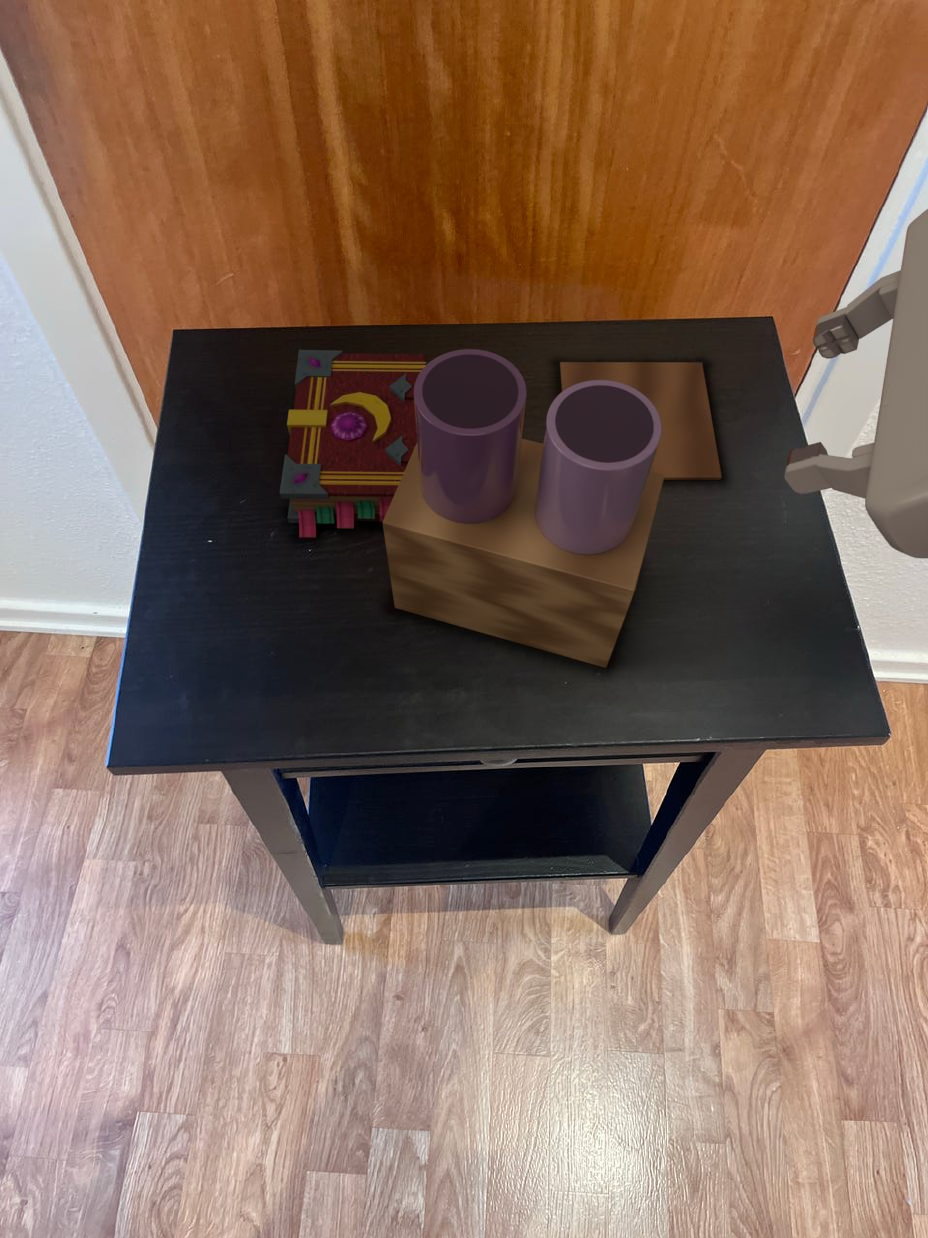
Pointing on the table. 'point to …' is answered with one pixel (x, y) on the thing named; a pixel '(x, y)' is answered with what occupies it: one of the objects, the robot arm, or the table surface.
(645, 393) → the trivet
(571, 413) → the lavender cup
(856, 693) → the table surface
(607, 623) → the block
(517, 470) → the plum cup
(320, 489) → the decorative book
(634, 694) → the table surface
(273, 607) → the table surface
